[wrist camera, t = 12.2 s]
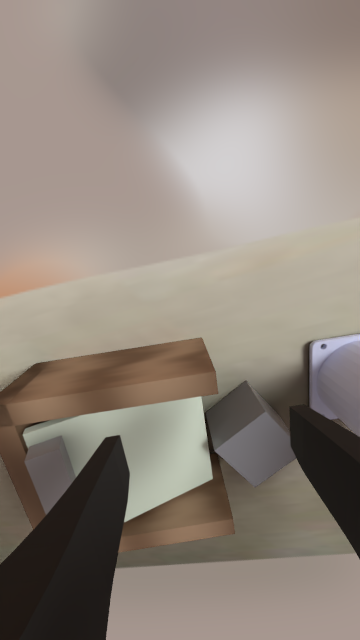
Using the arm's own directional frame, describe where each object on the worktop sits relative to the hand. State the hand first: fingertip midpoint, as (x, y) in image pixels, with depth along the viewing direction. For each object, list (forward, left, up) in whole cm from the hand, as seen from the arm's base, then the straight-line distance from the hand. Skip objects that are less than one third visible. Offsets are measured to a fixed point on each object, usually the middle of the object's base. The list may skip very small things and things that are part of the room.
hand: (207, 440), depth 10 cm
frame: (+6, +6, -10) cm, 13 cm away
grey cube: (-2, +9, -8) cm, 12 cm away
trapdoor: (+5, +6, -7) cm, 11 cm away
